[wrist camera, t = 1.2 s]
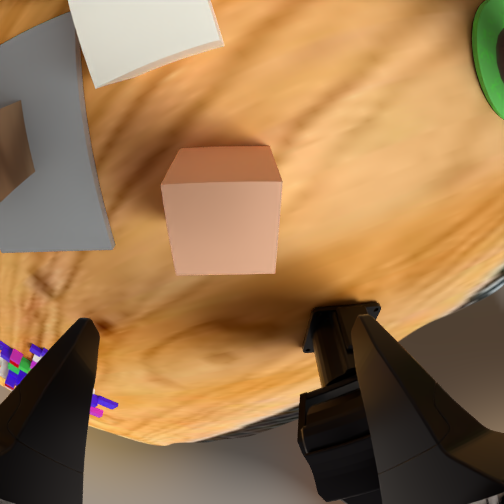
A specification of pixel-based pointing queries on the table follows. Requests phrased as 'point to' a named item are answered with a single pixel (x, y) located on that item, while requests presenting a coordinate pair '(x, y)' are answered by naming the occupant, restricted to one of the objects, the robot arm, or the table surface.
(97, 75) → the offwhite brick
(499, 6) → the plant figurine
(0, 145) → the walnut brick
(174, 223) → the terracotta brick
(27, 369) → the building block set
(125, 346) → the table surface
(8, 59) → the plate
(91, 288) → the table surface
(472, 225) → the table surface
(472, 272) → the table surface
